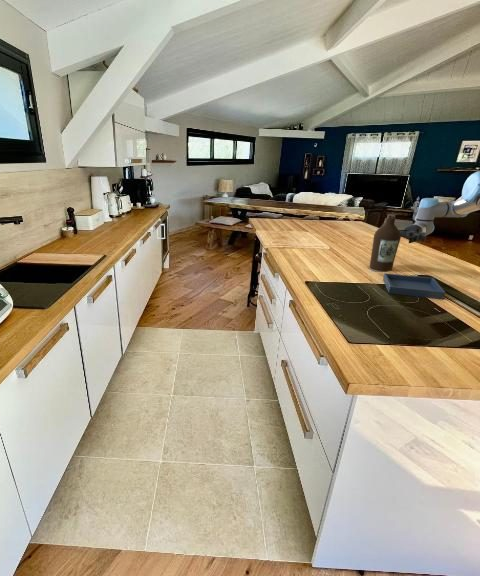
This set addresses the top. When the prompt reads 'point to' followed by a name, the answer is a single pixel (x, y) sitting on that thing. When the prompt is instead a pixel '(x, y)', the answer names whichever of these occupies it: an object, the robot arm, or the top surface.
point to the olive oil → (385, 245)
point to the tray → (413, 286)
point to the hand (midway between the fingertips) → (394, 237)
